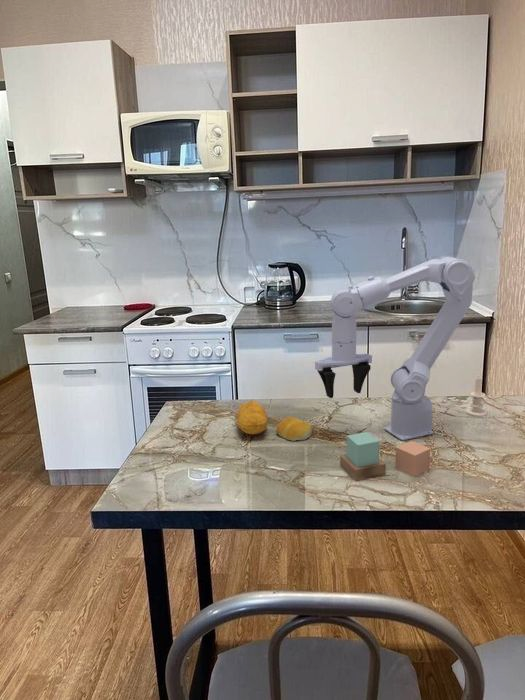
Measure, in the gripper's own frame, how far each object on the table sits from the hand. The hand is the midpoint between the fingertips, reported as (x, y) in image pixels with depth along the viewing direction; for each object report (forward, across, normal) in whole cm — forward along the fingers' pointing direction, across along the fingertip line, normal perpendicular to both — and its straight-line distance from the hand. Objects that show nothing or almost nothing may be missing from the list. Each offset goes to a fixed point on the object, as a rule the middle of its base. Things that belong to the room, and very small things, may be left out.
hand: (343, 394), depth 128 cm
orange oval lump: (+11, +20, -12) cm, 26 cm away
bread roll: (+11, +11, -5) cm, 16 cm away
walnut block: (+11, +6, +18) cm, 22 cm away
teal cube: (+8, +6, +18) cm, 21 cm away
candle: (+10, -38, +4) cm, 40 cm away
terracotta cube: (+10, -4, +22) cm, 25 cm away
